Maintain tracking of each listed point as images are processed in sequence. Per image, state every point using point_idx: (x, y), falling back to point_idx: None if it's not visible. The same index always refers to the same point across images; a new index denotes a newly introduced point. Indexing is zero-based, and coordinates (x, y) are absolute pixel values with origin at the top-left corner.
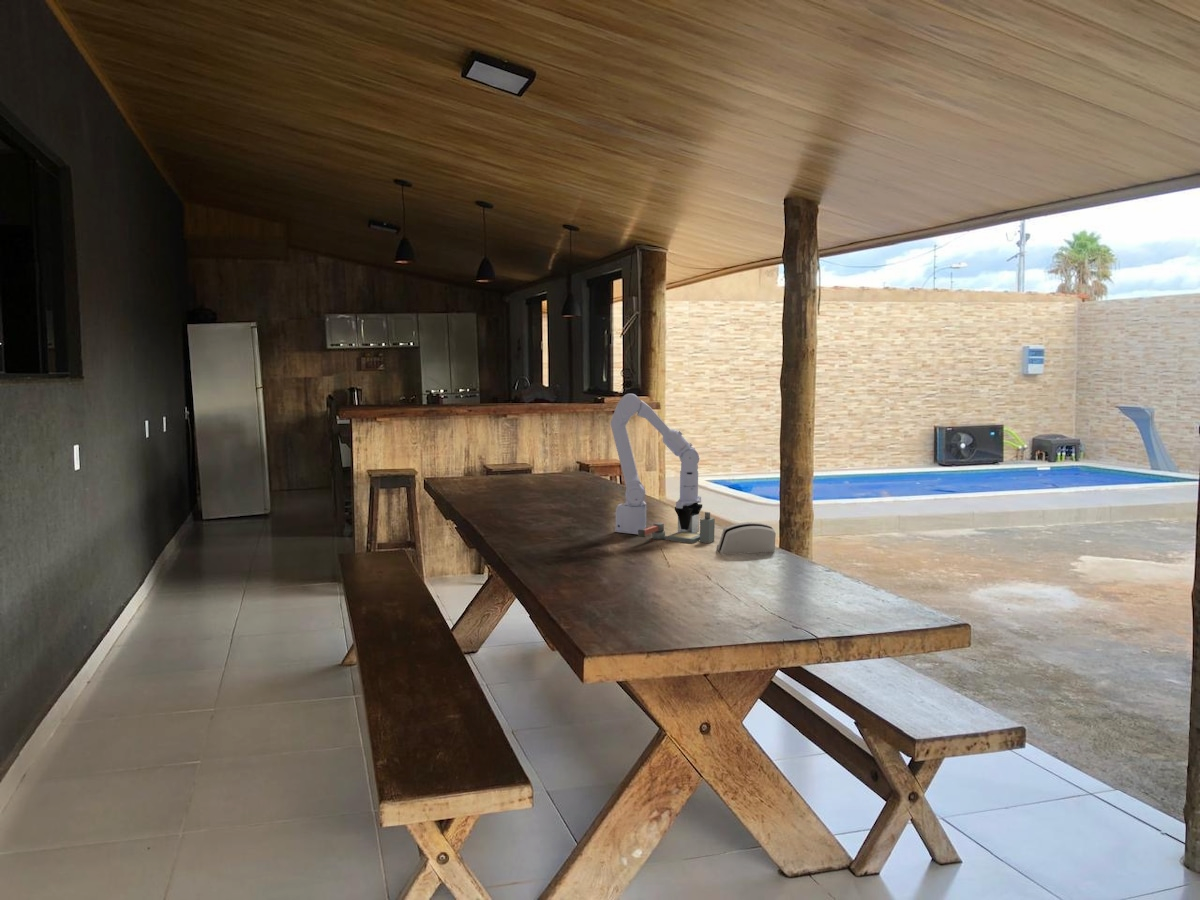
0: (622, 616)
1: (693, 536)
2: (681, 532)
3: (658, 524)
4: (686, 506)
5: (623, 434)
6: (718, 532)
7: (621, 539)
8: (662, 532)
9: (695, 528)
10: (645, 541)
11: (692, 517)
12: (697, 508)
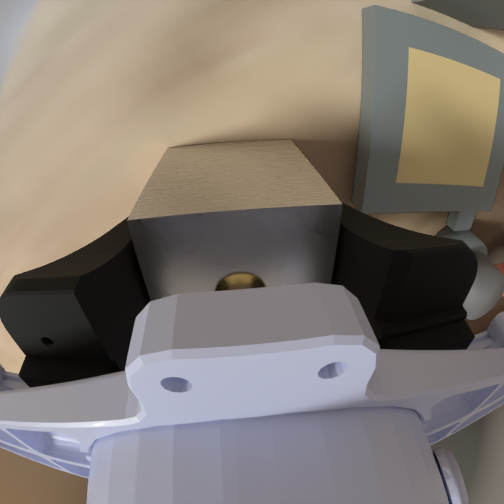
0: None
1: (466, 72)
2: (381, 190)
3: (500, 289)
4: (415, 345)
5: None
6: (74, 44)
7: (471, 322)
8: (476, 248)
9: (230, 153)
10: (498, 255)
11: (331, 196)
12: (109, 289)
